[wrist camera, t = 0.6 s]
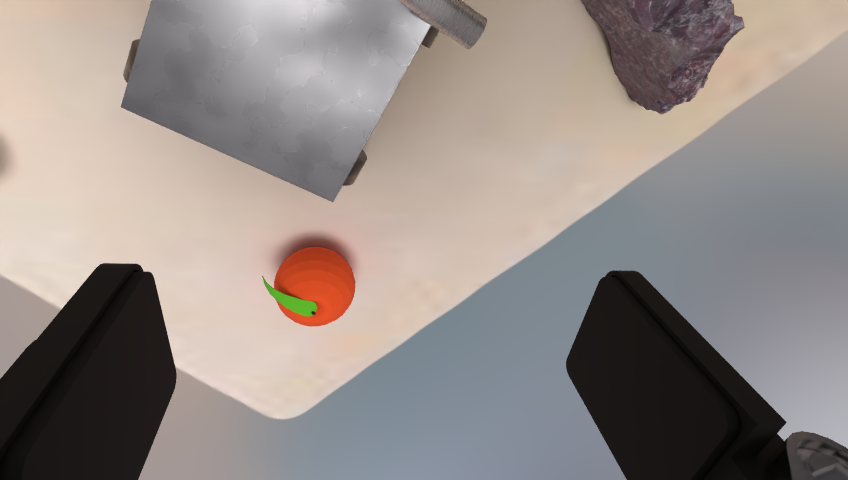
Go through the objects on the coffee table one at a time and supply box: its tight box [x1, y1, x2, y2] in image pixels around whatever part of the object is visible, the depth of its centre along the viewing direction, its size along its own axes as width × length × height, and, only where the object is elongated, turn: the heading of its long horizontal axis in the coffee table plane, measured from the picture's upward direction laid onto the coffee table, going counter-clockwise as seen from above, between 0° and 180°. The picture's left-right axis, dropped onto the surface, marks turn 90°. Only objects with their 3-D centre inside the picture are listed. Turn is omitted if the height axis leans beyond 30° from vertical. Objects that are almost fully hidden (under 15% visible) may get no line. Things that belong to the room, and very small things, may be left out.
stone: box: [581, 0, 744, 114], centre depth 29 cm, size 10×6×15 cm
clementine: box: [262, 247, 355, 326], centre depth 37 cm, size 8×7×7 cm
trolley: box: [121, 0, 487, 202], centre depth 23 cm, size 14×16×18 cm
